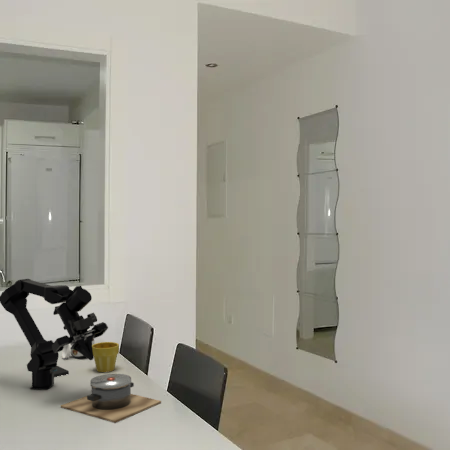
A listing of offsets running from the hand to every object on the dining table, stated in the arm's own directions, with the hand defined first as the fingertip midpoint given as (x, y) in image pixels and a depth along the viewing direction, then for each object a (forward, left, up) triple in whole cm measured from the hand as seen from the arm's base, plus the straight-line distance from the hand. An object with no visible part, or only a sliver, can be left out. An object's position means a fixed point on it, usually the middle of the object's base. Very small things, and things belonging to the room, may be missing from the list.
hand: (92, 359), depth 179 cm
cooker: (+7, -7, -13) cm, 16 cm away
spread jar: (-19, +53, -13) cm, 58 cm away
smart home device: (-25, +33, -13) cm, 44 cm away
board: (+7, -7, -13) cm, 16 cm away
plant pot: (-3, +33, -13) cm, 36 cm away
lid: (+7, -7, -6) cm, 12 cm away
